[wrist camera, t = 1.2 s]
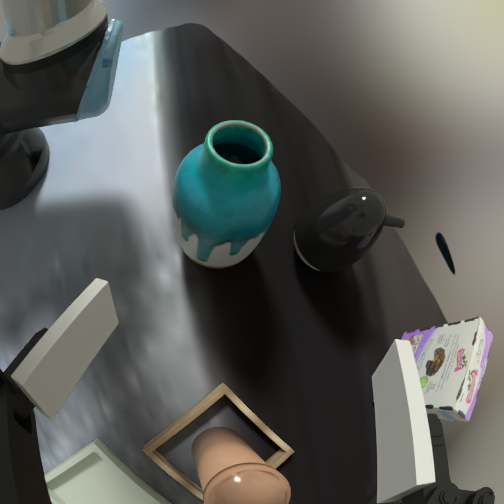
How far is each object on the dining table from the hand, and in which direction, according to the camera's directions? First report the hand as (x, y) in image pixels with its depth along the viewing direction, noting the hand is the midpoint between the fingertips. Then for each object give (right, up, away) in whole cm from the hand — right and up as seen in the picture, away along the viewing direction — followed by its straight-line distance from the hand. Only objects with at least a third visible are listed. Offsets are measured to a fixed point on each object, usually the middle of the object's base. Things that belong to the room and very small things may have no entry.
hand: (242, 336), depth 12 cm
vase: (-5, +5, +26) cm, 27 cm away
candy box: (+25, -17, +29) cm, 42 cm away
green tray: (-19, -29, +11) cm, 36 cm away
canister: (-4, -22, +18) cm, 28 cm away
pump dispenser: (+10, +4, +31) cm, 33 cm away
